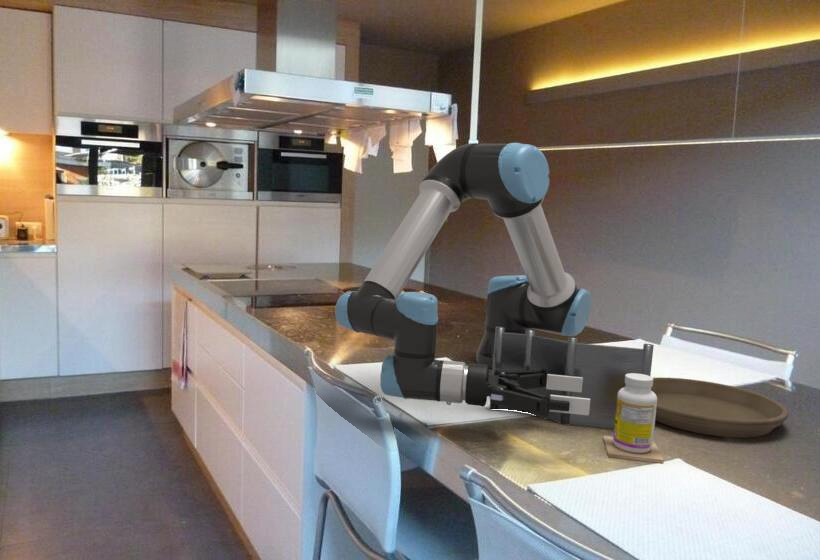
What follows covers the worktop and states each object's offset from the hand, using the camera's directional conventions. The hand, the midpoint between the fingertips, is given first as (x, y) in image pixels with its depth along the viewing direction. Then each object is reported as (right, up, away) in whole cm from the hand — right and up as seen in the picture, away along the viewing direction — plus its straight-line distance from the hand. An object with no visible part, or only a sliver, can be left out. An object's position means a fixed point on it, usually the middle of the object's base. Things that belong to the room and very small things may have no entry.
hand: (585, 395), depth 121 cm
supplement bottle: (+8, -9, 0) cm, 12 cm away
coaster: (+8, -10, 0) cm, 13 cm away
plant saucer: (+30, -8, +22) cm, 38 cm away
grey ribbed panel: (-1, -7, +14) cm, 16 cm away
